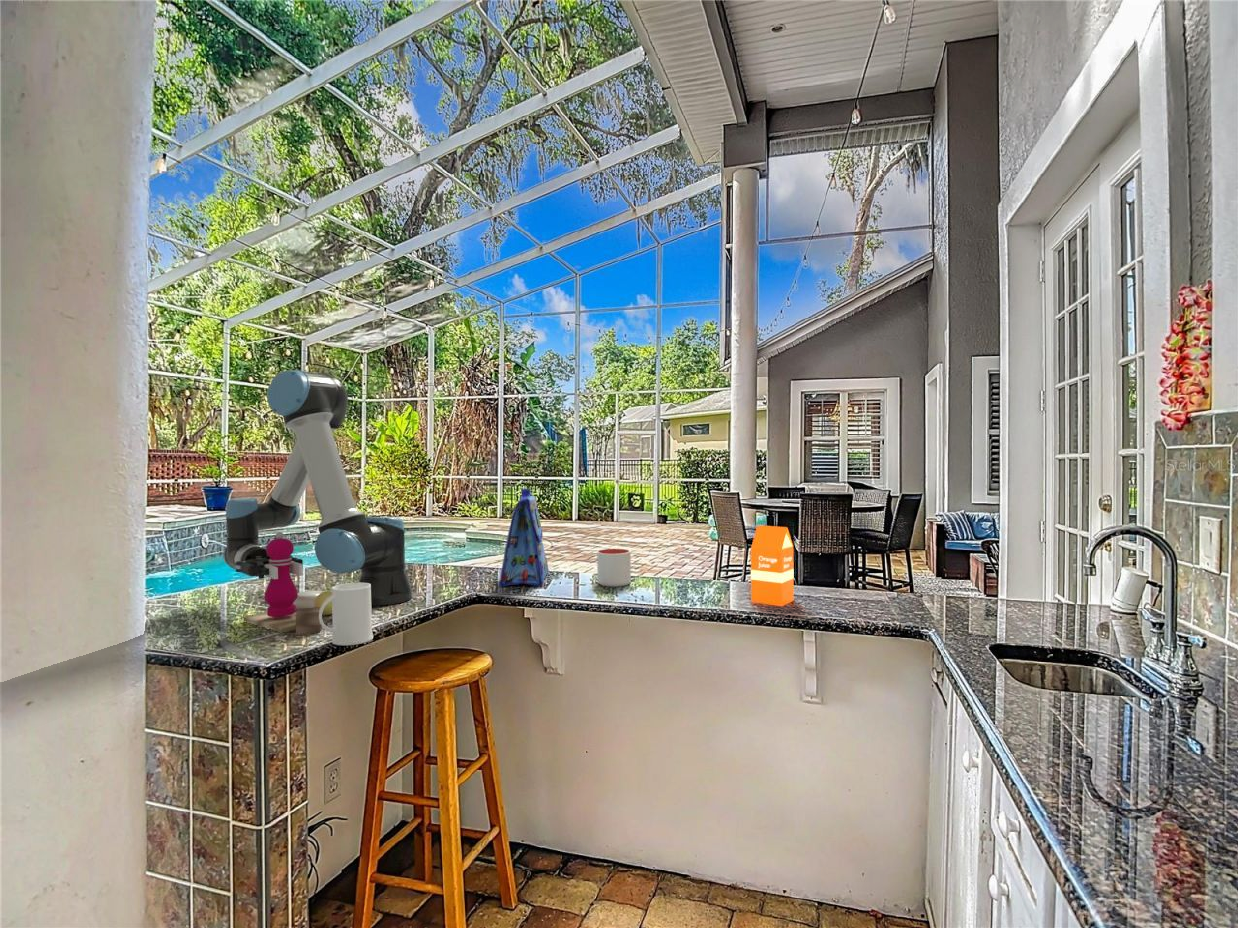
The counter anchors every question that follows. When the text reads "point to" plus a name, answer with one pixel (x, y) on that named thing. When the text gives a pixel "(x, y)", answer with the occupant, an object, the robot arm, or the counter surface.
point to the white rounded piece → (306, 599)
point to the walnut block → (307, 621)
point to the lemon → (320, 601)
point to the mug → (350, 614)
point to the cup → (614, 567)
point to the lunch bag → (524, 546)
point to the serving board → (273, 622)
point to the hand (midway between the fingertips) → (288, 571)
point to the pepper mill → (280, 578)
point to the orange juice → (772, 566)
